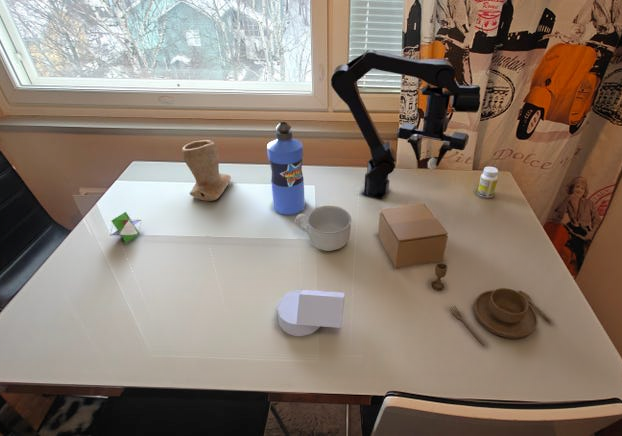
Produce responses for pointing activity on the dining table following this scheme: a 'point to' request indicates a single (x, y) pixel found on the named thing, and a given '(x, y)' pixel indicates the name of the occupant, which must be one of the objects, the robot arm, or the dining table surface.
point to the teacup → (327, 227)
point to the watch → (427, 163)
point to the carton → (413, 241)
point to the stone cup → (205, 170)
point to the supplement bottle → (488, 182)
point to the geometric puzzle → (125, 227)
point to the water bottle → (286, 171)
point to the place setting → (499, 309)
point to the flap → (407, 213)
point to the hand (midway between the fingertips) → (428, 163)
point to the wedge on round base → (310, 311)
